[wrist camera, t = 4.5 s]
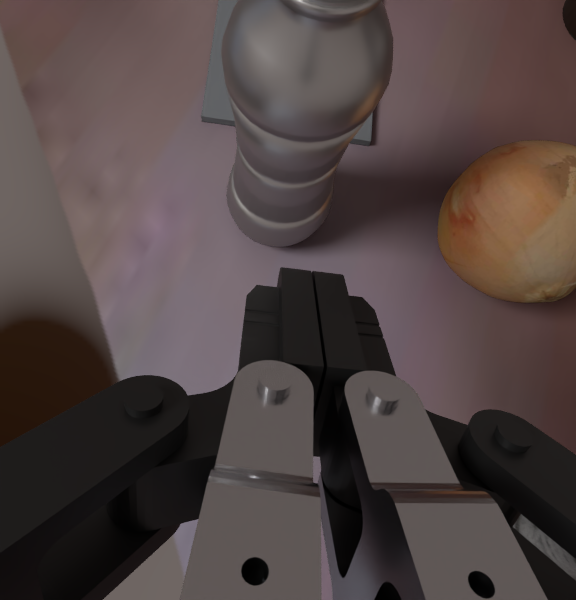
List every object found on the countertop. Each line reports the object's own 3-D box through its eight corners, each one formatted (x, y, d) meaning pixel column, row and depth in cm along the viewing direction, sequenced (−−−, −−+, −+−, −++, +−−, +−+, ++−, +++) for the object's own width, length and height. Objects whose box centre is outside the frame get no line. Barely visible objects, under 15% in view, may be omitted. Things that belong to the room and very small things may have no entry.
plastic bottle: (340, 233, 32) (504, -30, 13) (250, 272, 31) (281, 43, 11) (299, 154, 33) (393, -203, 14) (210, 188, 32) (176, -154, 12)
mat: (232, -80, 37) (232, -88, 36) (379, -52, 38) (381, -60, 37) (201, 121, 33) (201, 116, 32) (368, 145, 34) (371, 141, 33)
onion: (454, 339, 31) (553, 310, 22) (391, 209, 33) (458, 128, 23) (570, 289, 33) (709, 241, 23) (505, 168, 35) (610, 76, 25)
